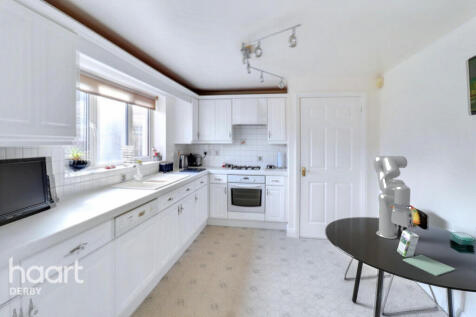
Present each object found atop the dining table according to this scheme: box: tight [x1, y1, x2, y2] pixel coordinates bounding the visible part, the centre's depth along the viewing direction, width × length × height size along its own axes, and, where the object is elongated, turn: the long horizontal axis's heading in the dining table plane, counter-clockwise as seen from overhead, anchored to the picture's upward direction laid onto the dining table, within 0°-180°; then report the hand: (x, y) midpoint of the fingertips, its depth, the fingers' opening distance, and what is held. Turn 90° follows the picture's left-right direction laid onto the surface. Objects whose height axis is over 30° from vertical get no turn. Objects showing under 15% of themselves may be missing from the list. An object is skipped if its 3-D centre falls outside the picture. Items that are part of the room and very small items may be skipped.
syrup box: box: [396, 230, 420, 258], centre depth 128 cm, size 6×6×14 cm
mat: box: [402, 254, 456, 277], centre depth 119 cm, size 16×16×1 cm
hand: (400, 236), depth 132 cm, fingers closed
